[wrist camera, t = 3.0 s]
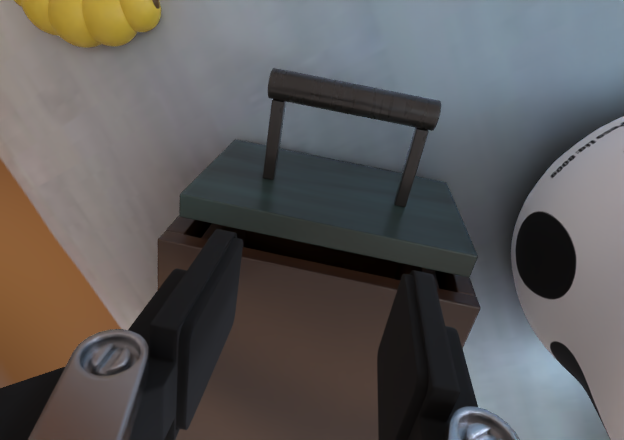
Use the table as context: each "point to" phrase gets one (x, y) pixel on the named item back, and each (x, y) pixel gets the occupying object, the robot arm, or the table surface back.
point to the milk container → (579, 267)
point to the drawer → (335, 191)
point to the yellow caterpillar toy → (93, 19)
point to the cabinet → (299, 344)
